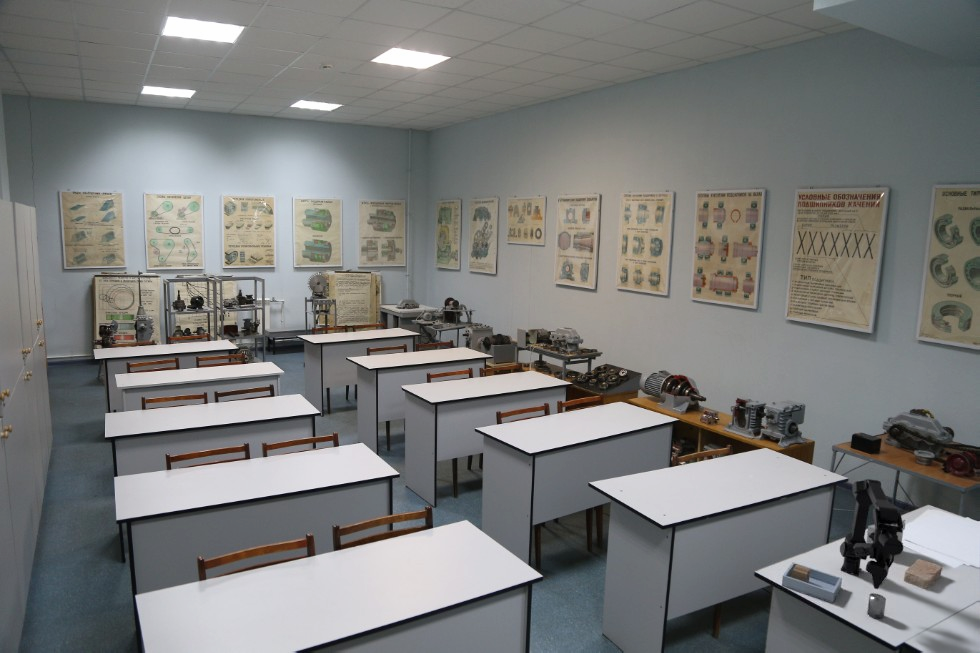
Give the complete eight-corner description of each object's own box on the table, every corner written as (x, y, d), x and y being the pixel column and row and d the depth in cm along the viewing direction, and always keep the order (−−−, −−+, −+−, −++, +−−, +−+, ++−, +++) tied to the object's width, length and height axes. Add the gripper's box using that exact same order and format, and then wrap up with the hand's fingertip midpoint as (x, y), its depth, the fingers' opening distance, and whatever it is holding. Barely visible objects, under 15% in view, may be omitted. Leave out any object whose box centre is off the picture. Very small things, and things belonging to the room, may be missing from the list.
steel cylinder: (868, 609, 229) (870, 591, 228) (884, 615, 225) (887, 597, 224) (865, 615, 225) (868, 597, 224) (882, 621, 222) (884, 603, 221)
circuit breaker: (862, 551, 271) (866, 518, 269) (884, 545, 277) (888, 512, 275) (879, 559, 265) (884, 525, 262) (901, 553, 270) (905, 519, 268)
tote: (791, 571, 254) (792, 562, 253) (841, 587, 242) (842, 578, 242) (781, 585, 243) (782, 575, 243) (832, 603, 232) (834, 593, 231)
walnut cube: (795, 576, 249) (796, 564, 248) (808, 581, 246) (810, 569, 245) (791, 581, 245) (792, 569, 244) (805, 586, 242) (806, 574, 241)
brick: (927, 591, 242) (928, 579, 242) (902, 581, 249) (903, 570, 248) (941, 577, 253) (942, 566, 252) (917, 568, 259) (918, 557, 258)
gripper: (862, 525, 233) (857, 565, 236) (851, 543, 219) (846, 585, 221) (897, 535, 226) (892, 576, 229) (889, 554, 212) (883, 597, 214)
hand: (878, 583), depth 223 cm, fingers open, 9 cm apart
